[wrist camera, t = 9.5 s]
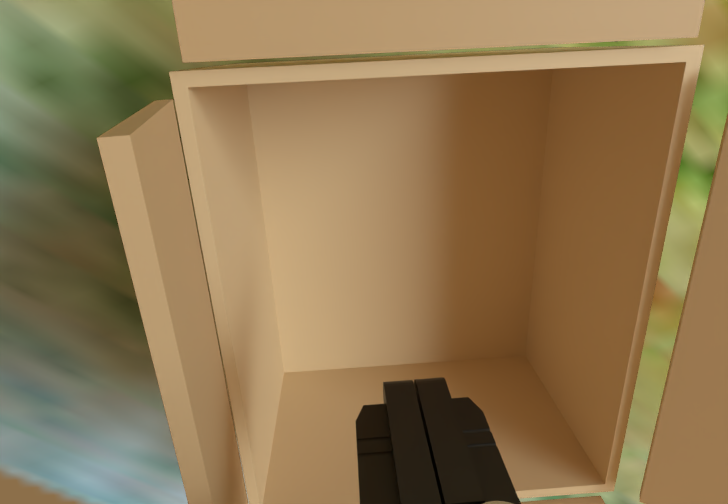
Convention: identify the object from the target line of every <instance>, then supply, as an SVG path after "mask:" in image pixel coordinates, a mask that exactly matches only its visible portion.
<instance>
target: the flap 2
mask: <svg viewBox="0 0 728 504" xmlns="http://www.w3.org/2000/svg"><path fill="white" fill-rule="evenodd" d="M640 502H642V503H645V504H728V115H727V119H726V123H725V128H724V132H723V136H722V141H721V145H720V149H719V153H718V158H717V162H716V166H715V171H714V175H713V179H712V184H711V188H710V192H709V197H708V201H707V205H706V210H705V214H704V218H703V223H702V227H701V231H700V236H699V240H698V244H697V249H696V253H695V257H694V262H693V266H692V270H691V275H690V279H689V283H688V287H687V292H686V296H685V300H684V305H683V309H682V313H681V318H680V322H679V326H678V331H677V335H676V339H675V344H674V348H673V352H672V357H671V361H670V365H669V370H668V374H667V378H666V383H665V387H664V391H663V396H662V400H661V404H660V409H659V413H658V417H657V421H656V426H655V430H654V434H653V439H652V443H651V447H650V452H649V456H648V460H647V465H646V469H645V473H644V478H643V482H642V486H641V491H640Z"/></svg>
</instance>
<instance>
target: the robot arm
mask: <svg viewBox="0 0 728 504" xmlns="http://www.w3.org/2000/svg"><path fill="white" fill-rule="evenodd" d="M383 401H384V404H373V405H363V407H362V409H361V411H360V413H359V415H358V417H357V419H356V440H357V459H358V478H359V497H360V504H521V503H520V501H519V498H518V496H517V494H516V491H515V489H514V486H513V484H512V481H511V479H510V476H509V474H508V471H507V469H506V467H505V464H504V462H503V459H502V457H501V454H500V452H499V449H498V447H497V446H496V442H495V440H494V437H493V435H492V432H490V427H489V425H488V422H487V420H486V417H485V415H484V413H483V411H482V410H481V409H480V408H479V407H478V406H477V405H476V404H475V403H474V402H473V401H472V400H471V399H470V398H469V397H462V398H451V395H450V392H449V389H448V386H447V383H446V380H445V378H444V377H440V378H427V379H414V383H413V380H402V381H389V382H383Z"/></svg>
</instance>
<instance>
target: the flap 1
mask: <svg viewBox="0 0 728 504" xmlns="http://www.w3.org/2000/svg"><path fill="white" fill-rule="evenodd" d="M97 142H98V146H99V150H100V154H101V158H102V162H103V166H104V170H105V174H106V178H107V181H108V185H109V189H110V193H111V197H112V201H113V205H114V209H115V213H116V217H117V221H118V225H119V229H120V233H121V237H122V241H123V245H124V249H125V253H126V257H127V261H128V265H129V269H130V273H131V277H132V281H133V285H134V289H135V293H136V297H137V301H138V305H139V309H140V313H141V317H142V321H143V325H144V329H145V333H146V337H147V341H148V345H149V349H150V353H151V357H152V360H153V364H154V368H155V372H156V376H157V380H158V384H159V388H160V392H161V396H162V400H163V404H164V408H165V412H166V416H167V420H168V424H169V428H170V432H171V436H172V440H173V444H174V448H175V452H176V456H177V460H178V464H179V468H180V472H181V476H182V480H183V484H184V488H185V492H186V496H187V500H188V504H248V499H247V494H246V489H245V483H244V478H243V473H242V467H241V462H240V456H239V451H238V446H237V440H236V435H235V430H234V424H233V419H232V414H231V408H230V403H229V398H228V392H227V387H226V382H225V376H224V371H223V366H222V360H221V355H220V350H219V344H218V339H217V334H216V328H215V323H214V317H213V312H212V307H211V301H210V296H209V291H208V285H207V280H206V275H205V269H204V264H203V259H202V253H201V248H200V243H199V237H198V232H197V227H196V221H195V216H194V211H193V205H192V200H191V195H190V189H189V184H188V178H187V173H186V168H185V162H184V157H183V152H182V146H181V141H180V136H179V130H178V125H177V120H176V114H175V109H174V104H173V99H170V100H155V101H153V102H152V103H150V104H149V105H147V106H146V107H144V108H142V109H141V110H139V111H138V112H136V113H135V114H133V115H132V116H130V117H128V118H127V119H125V120H124V121H122V122H121V123H119V124H117V125H116V126H114V127H113V128H111V129H110V130H108V131H106V132H105V133H103V134H102V135H100V136H99V137H97Z"/></svg>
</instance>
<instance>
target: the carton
mask: <svg viewBox="0 0 728 504" xmlns="http://www.w3.org/2000/svg"><path fill="white" fill-rule="evenodd" d="M704 3H705V0H172V4H173V10H174V16H175V21H176V27H177V33H178V39H179V44H180V50H181V56H182V61H183V63H186V62H206V61H226V60H247V59H267V58H287V57H307V56H327V55H347V54H368V53H388V52H408V51H428V50H448V49H468V48H489V47H509V46H529V45H549V44H569V43H589V42H610V41H630V40H650V39H670V38H690V37H698V34H699V29H700V24H701V18H702V13H703V8H704ZM703 49H704V45H669V46H613V47H559V48H539V49H519V50H499V51H479V52H459V53H439V54H418V55H398V56H378V57H358V58H338V59H318V60H298V61H278V62H258V63H238V64H228V65H220V66H212V67H204V68H195V69H187V70H179V71H171V72H169V75H170V80H171V85H172V91H173V96H174V102H175V107H176V112H177V118H178V123H179V128H180V134H181V139H182V145H183V150H184V155H185V161H186V166H187V171H188V177H189V182H190V188H191V193H192V198H193V204H194V209H195V214H196V220H197V225H198V231H199V236H200V241H201V247H202V252H203V257H204V263H205V268H206V274H207V279H208V284H209V290H210V295H211V300H212V306H213V311H214V317H215V322H216V327H217V333H218V338H219V343H220V349H221V354H222V360H223V365H224V370H225V376H226V381H227V386H228V392H229V397H230V403H231V408H232V413H233V419H234V424H235V429H236V435H237V440H238V446H239V451H240V456H241V462H242V467H243V472H244V478H245V483H246V489H247V494H248V499H249V504H360V497H359V478H358V459H357V440H356V419H357V417H358V415H359V413H360V411H361V409H362V407H363V405H373V404H384V401H383V382H389V381H402V380H413V383H414V379H427V378H440V377H444V378H445V380H446V383H447V386H448V389H449V392H450V395H451V398H462V397H469V398H470V399H471V400H472V401H473V402H474V403H475V404H476V405H477V406H478V407H479V408H480V409H481V410H482V411H483V413H484V415H485V417H486V420H487V422H488V425H489V427H490V432H492V435H493V437H494V440H495V442H496V446H497V447H498V449H499V452H500V454H501V457H502V459H503V462H504V464H505V467H506V469H507V471H508V474H509V476H510V479H511V481H512V484H513V486H514V489H515V491H516V494H517V496H518V498H532V497H544V496H557V495H570V494H582V493H595V492H608V491H614V487H615V482H616V477H617V472H618V468H619V463H620V458H621V453H622V448H623V443H624V438H625V433H626V428H627V423H628V418H629V413H630V408H631V404H632V399H633V394H634V389H635V384H636V379H637V374H638V369H639V364H640V359H641V354H642V349H643V344H644V339H645V335H646V330H647V325H648V320H649V315H650V310H651V305H652V300H653V295H654V290H655V285H656V280H657V275H658V271H659V266H660V261H661V256H662V251H663V246H664V241H665V236H666V231H667V226H668V221H669V216H670V211H671V207H672V202H673V197H674V192H675V187H676V182H677V177H678V172H679V167H680V162H681V157H682V152H683V147H684V142H685V138H686V133H687V128H688V123H689V118H690V113H691V108H692V103H693V98H694V93H695V88H696V83H697V78H698V74H699V69H700V64H701V59H702V54H703ZM520 503H521V504H605V503H604V501H603V499H602V498H601V496H591V497H579V498H566V499H553V500H541V501H528V502H520Z"/></svg>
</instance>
